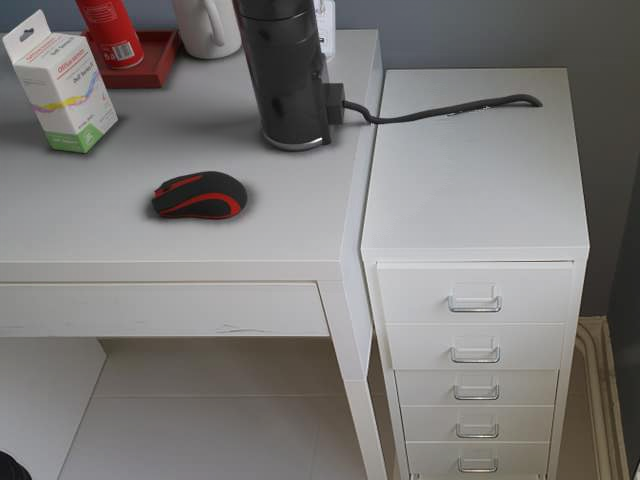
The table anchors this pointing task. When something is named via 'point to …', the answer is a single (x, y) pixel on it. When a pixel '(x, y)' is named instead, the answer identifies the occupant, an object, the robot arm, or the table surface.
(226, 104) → the table surface
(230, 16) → the mug
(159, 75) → the drinks tray
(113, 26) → the beverage can
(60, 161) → the table surface
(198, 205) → the computer mouse
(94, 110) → the ink box
